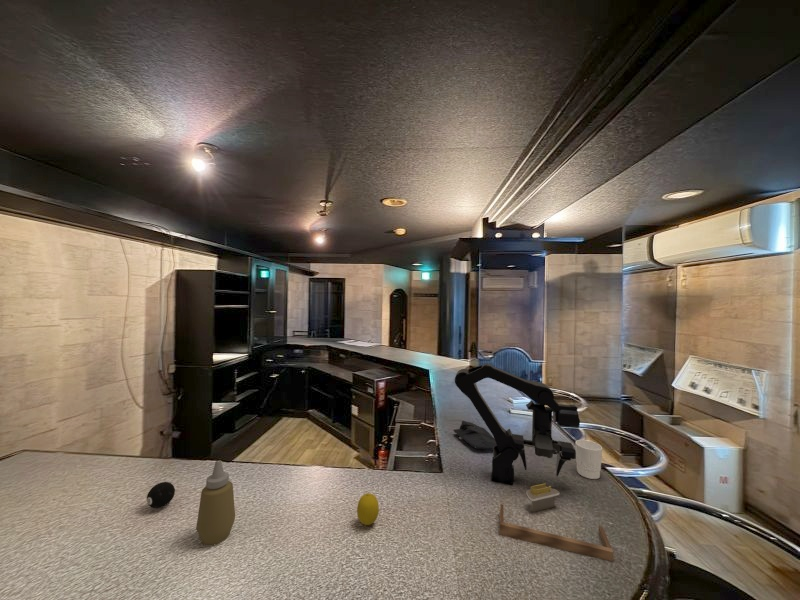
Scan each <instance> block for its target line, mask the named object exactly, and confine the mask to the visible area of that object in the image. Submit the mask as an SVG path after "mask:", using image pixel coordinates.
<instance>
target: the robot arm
mask: <svg viewBox="0 0 800 600" xmlns="http://www.w3.org/2000/svg"><path fill="white" fill-rule="evenodd" d="M486 378H487V379H488V378H489V379H492V380H493V381H495V382H499V383H501V384H503V385H505V386H508V387H510V388H512V389H514V390H517V391H519V392H521V393H523V394H525V395H526V396H527V397H528V398H529V399H532V400H530V401H529V402H528V403H526V405H525V406H526V409H527V410H528V411H529V410H530V411H532V425H531V426H532V428H531V432H532V433H531V440H529V439H524V435H522V434H515V433H513V432H512V430H511V429H510V428H508V429H505V428H504V427H503V426H502V424H501V423H500V422H499V420H498V418H497V417H496V415H495V414H494V413H493V410H491V407H490V406H489V405H488V403H487V402H486V400H485V399H484V397H483V396H482V394H481V392H480V391H479V389H478V386H477V383H478V382H480V381H482V380H484V379H486ZM454 384H455V386H456V387H457V388H458V389H459V391H461V393H462V394H464V396H466V397H467V398H468V399H469V401H471V404H472V405H473V407H474V408H475V410H476V411H477V412H478V414H479V416H480V417H481V419H482V420H483V422H484V424H485V425H486V427H487V428H488V430H489V431H490V432H491V433H490V434H491V435H492V437H493V438H494V439H495V442H496V444H497V445H496V446H494V447H493V449H492V454H493V455H492V458H491V478H490V479H491V482H493V483H498V484H504V485H507V486H513V482H514V481H515V466H514V465H513V463H514V461H516V460H518V458H519V455H520V459H521V461H522V464H523V468H524V470H525V471H527V459H526V450H525V447H529V448H534V454H535V455H536V456H537V457H543V458H548V459H552V458H553V456H554V455H557V456H556V465H555V475H556V477H558V476H559V474H560V472H561V470H562V468H563V466H564V465H565V462H567V461H571V460H576V447H574V445H573V443H572V442H565V441H562V440H561V441H560V440H555V439H553V436H552V431H553V430H552V429H553V428H552V427H553V423H556V425H557V426H558V427H562V428H563V427H565V428H573V429H579V428H580V423H581V422H580V421H581V420H580V416H579V411H578V407H577V405H575V404H562V403H561V404H560V403H558V402H557V400H556V399H555V396H554V392H553V391H552V389H551V388H550V387H549V386H548V385H547V384H546V383H543V382H539V381H534V380H531V379H530V380H529V379H524V378H522V377H520V376H517V375H515V374H512V373H510V372H508V371H506V370H502V369H500V368H498V367H496V366H493V365H492V364H491V363H486V362H485V363H483V364H482V365H479V366H474V367H471V368H468V369H467V368H461V369H459V370H458V371H457V372H456V374H455V377H454ZM534 401H535V402H534Z"/></svg>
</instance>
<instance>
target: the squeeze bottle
mask: <svg viewBox="0 0 800 600" xmlns="http://www.w3.org/2000/svg"><path fill="white" fill-rule="evenodd" d="M222 463H223V462H222V460H216V461H215V464H214V467H213V471H212V474H211V475H209V476H208V477H207V478H206V481H205V482H206V483H205V484H206V485H205V486H204V488H202V490H201V492H200V493H201V494H200V499H199V500H200V501H199V506H198V508H199V509H198V514H197V521H196V526H195V527H196V528H195V529H196V532H197V534H198V537H199V540H200V542H201V544H202V545H203V544H205V545H204V546H206V545H212V546H215V545H214V544H216V545H218V543H219V544H220V542H221V543H222V541H223V540H224V541H225V540H226V539H228V537H229V536H230V534H231V531H232V527H233V525H234V523H235V520H236V509H235V498H234V497H235V496H234V495H235V494H234V486H233V485H234V484H233V483H232V481H231V480H229V479H230V477H229V476H230V475H229V473H228V472H226V471H224V469H223V464H222ZM224 541H223V542H224Z"/></svg>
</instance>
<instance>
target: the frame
mask: <svg viewBox="0 0 800 600" xmlns="http://www.w3.org/2000/svg"><path fill="white" fill-rule="evenodd" d="M498 533H499V535H501V536H504V537H508V538H512V539H518V540H522V541H525V542H530V543H534V544H538V545H543V546H547V547H551V548H554V549H559V550H564V551H569V552H572V553H574V554H575V553H576V554H579V555H583V556H588V557H592V558H596V559H600V560H605V561H610V562H614V551H613V548H612V546H611V544H610V543H611V542H609V539H608V536H607V534H606V532H605V530H604V527H603V526H600V525H598V538H599V540H600V542H601V545H599V544H594V543H593V542H592V543H591V542H587V541H584V540H578V539H574V538H570V537H567V536H563V535H558V534H554V533H551V532H545V531H541V530H538V529H534V528H529V527H526V526H521V525H519V524H518V525H517V524H513V523H509V522H506V521H504V504H503V503H500V507H499V530H498Z"/></svg>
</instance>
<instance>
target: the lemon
mask: <svg viewBox="0 0 800 600" xmlns="http://www.w3.org/2000/svg"><path fill="white" fill-rule="evenodd" d="M379 506H380V505H379V500H378V499H377V497H376V496H375V495H374V494H373V493H372V492H371V493H370V492H367V493H364V494H363V495H362V496H361V497H360V498H359V499H358V503H357V507H356V513H357V518H358V520H359V522H360V523H361V524H362V525H365V526H369V525H372V524H373V523H375V522H376V520H377V519H378V515H379V510H380V509H379V508H380V507H379Z"/></svg>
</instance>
